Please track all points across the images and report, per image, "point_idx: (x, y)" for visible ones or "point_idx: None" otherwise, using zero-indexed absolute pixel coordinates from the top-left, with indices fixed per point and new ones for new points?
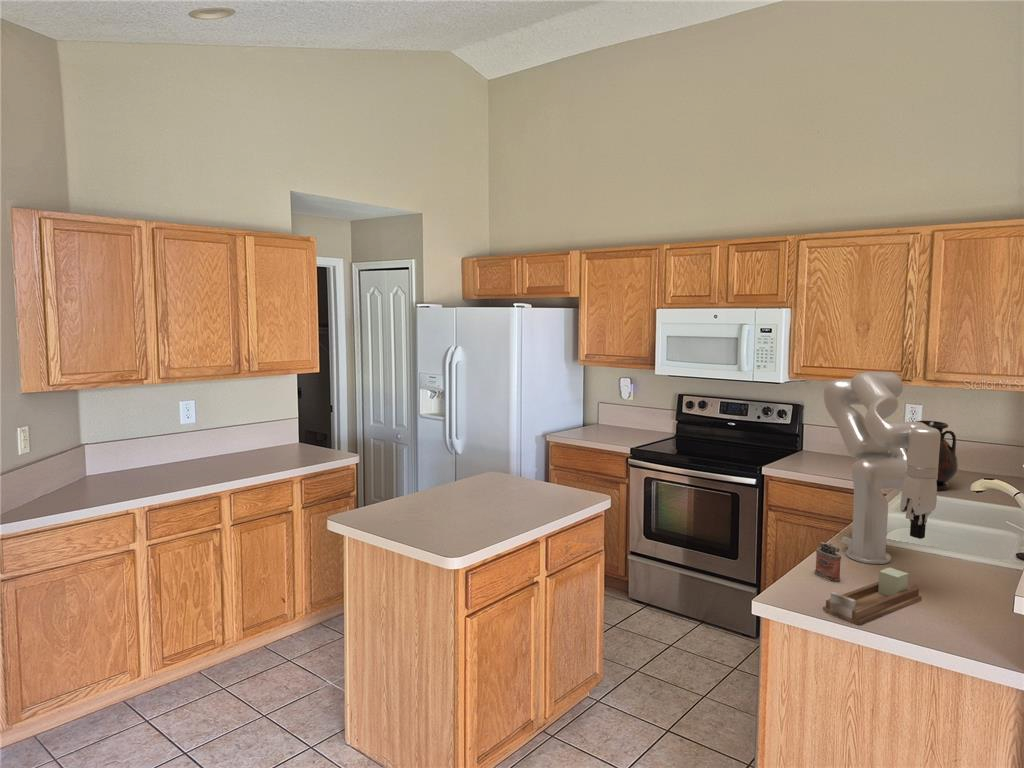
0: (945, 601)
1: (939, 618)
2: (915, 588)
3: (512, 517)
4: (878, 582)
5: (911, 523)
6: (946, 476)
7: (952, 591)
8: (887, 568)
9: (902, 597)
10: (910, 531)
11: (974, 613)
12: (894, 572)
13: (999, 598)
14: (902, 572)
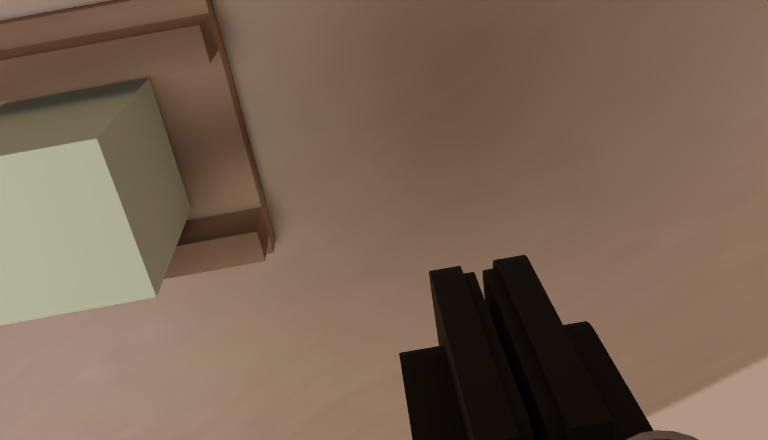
0: (401, 297)
1: (162, 424)
2: (236, 255)
3: None
4: (28, 70)
5: (472, 434)
6: None
7: (593, 213)
8: (48, 150)
9: None
10: (442, 312)
11: (398, 434)
12: (43, 243)
13: (717, 360)
14: (121, 265)
